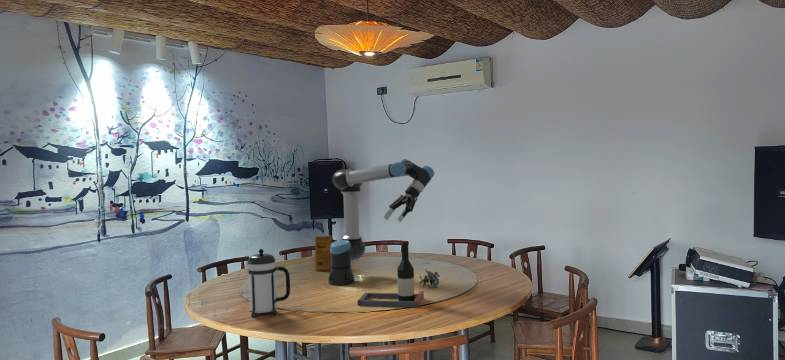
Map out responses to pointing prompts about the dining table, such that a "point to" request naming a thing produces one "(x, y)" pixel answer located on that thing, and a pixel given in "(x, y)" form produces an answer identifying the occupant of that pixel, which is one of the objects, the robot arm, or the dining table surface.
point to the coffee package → (322, 253)
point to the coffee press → (264, 283)
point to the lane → (365, 302)
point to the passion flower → (431, 279)
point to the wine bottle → (405, 276)
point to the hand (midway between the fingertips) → (391, 219)
